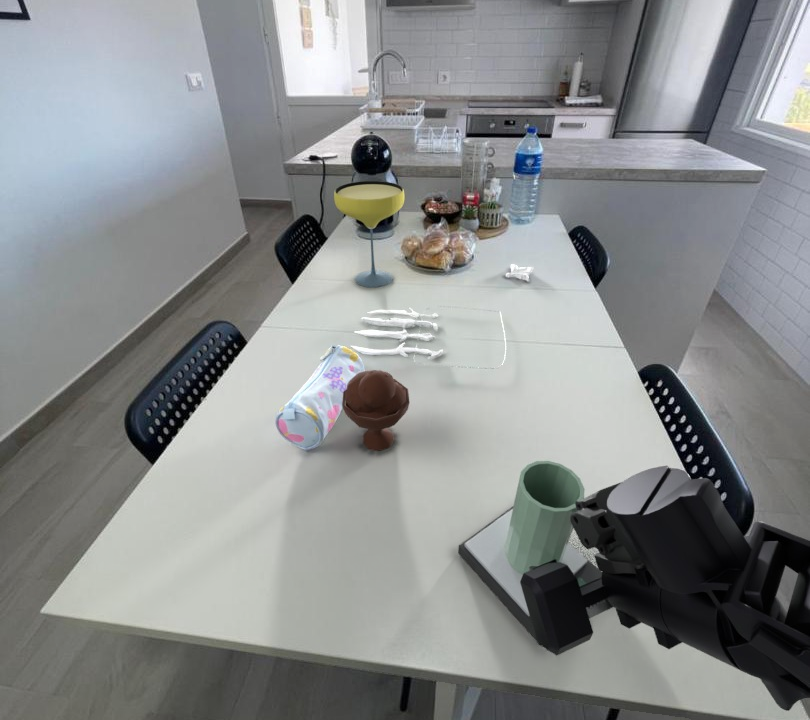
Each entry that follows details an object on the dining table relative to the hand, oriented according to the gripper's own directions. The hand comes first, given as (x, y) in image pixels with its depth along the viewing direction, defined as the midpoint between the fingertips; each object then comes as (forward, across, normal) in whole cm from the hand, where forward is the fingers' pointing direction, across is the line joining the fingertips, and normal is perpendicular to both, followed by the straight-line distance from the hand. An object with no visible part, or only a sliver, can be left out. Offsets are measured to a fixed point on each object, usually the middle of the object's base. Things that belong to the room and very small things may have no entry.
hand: (567, 556), depth 48 cm
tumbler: (+10, -1, +2) cm, 10 cm away
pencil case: (+38, +18, -24) cm, 48 cm away
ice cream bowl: (+32, +11, -17) cm, 37 cm away
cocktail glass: (+74, -8, -60) cm, 96 cm away
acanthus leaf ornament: (+66, -48, -51) cm, 96 cm away
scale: (+11, 0, +4) cm, 12 cm away
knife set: (+51, -11, -36) cm, 63 cm away
